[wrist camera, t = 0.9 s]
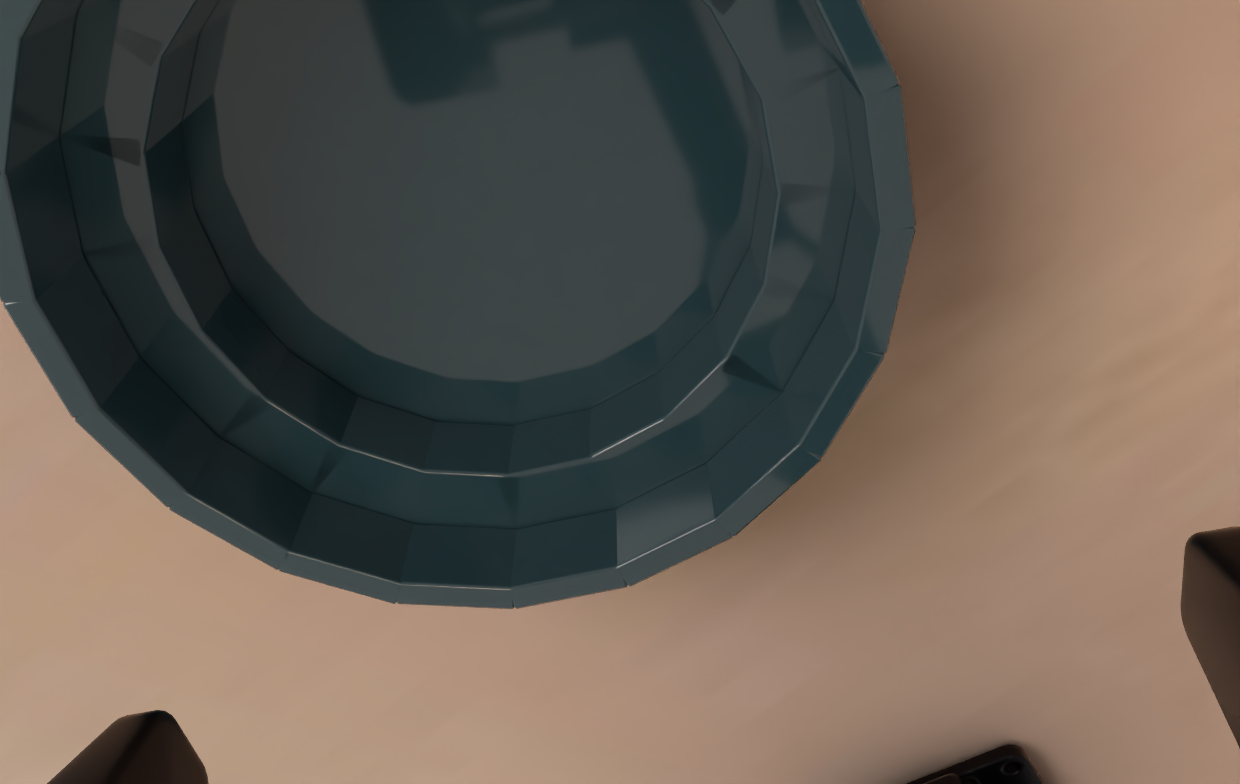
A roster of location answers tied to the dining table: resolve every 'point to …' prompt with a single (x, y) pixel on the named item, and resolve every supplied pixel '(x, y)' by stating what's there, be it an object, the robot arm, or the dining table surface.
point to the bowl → (455, 269)
